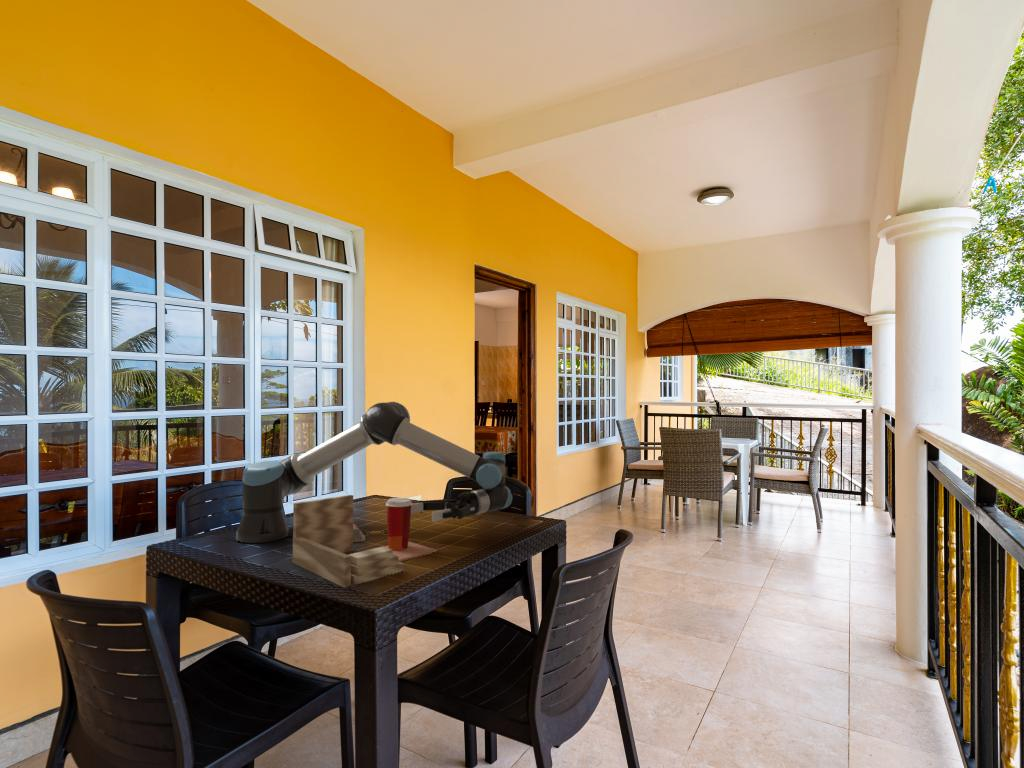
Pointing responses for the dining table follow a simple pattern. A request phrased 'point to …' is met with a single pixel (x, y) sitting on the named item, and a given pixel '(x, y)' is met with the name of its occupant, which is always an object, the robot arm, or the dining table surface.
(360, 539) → the packaged product
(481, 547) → the dining table surface
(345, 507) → the oak rack
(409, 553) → the terracotta mat
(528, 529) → the dining table surface
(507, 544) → the dining table surface
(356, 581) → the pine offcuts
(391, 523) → the paper cup
